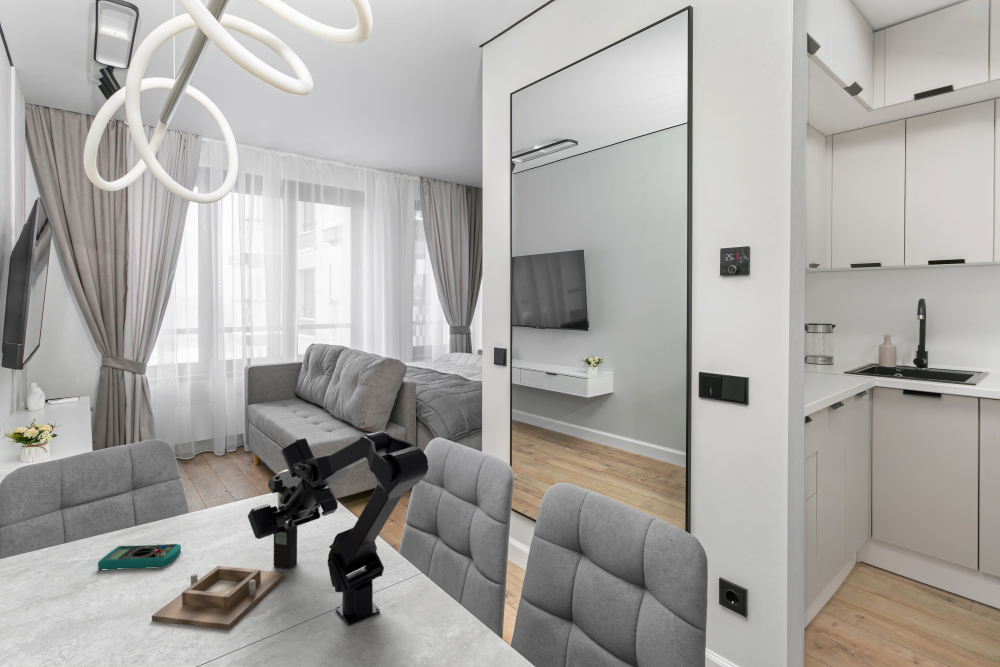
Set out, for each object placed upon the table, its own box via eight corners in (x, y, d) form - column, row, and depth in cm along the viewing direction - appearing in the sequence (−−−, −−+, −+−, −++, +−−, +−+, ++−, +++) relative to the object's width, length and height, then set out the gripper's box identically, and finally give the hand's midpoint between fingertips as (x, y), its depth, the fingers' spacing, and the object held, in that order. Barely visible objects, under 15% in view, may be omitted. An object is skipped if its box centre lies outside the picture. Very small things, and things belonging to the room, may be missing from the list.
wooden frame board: (284, 577, 109) (284, 559, 109) (228, 629, 92) (228, 608, 91) (218, 570, 112) (218, 553, 111) (151, 620, 94) (151, 600, 94)
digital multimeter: (167, 569, 113) (167, 557, 113) (96, 572, 111) (95, 560, 111) (183, 553, 120) (183, 541, 120) (117, 556, 118) (117, 544, 118)
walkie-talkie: (272, 566, 113) (272, 502, 113) (281, 559, 117) (282, 496, 116) (290, 569, 112) (290, 504, 112) (299, 562, 116) (300, 499, 115)
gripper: (331, 453, 118) (306, 487, 125) (250, 472, 103) (228, 510, 111) (350, 493, 113) (324, 526, 121) (269, 520, 99) (245, 556, 106)
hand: (282, 528), depth 115 cm, fingers closed on walkie-talkie, 4 cm apart
